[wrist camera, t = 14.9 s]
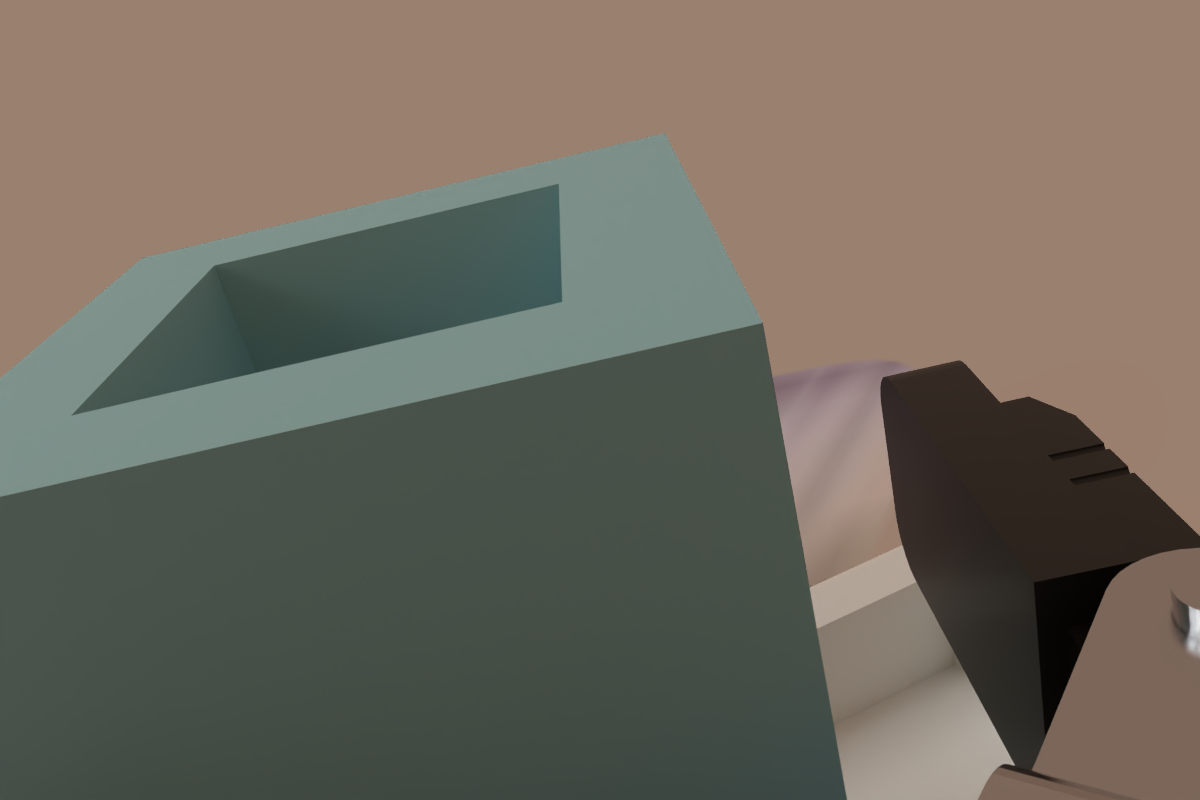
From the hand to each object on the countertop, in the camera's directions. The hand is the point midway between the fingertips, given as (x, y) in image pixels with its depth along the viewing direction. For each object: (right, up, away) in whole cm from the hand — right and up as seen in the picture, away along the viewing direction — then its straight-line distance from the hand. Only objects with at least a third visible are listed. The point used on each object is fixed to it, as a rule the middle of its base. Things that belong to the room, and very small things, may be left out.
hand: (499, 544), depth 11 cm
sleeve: (+2, -7, +1) cm, 8 cm away
